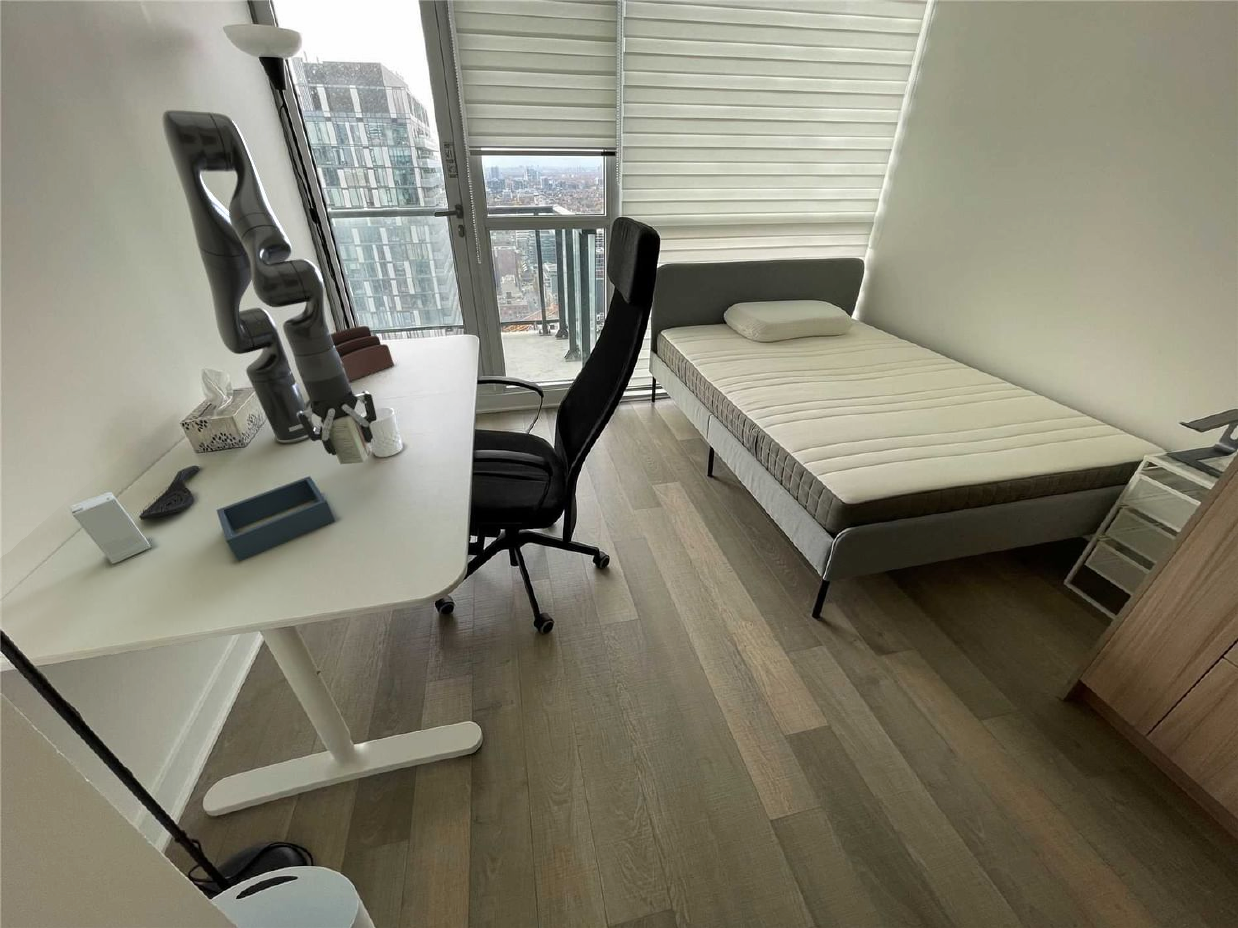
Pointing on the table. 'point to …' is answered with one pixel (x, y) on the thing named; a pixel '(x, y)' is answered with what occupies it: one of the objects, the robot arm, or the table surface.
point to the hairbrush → (172, 496)
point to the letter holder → (361, 352)
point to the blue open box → (276, 528)
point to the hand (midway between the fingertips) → (351, 447)
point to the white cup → (385, 433)
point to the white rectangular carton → (348, 440)
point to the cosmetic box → (110, 527)
